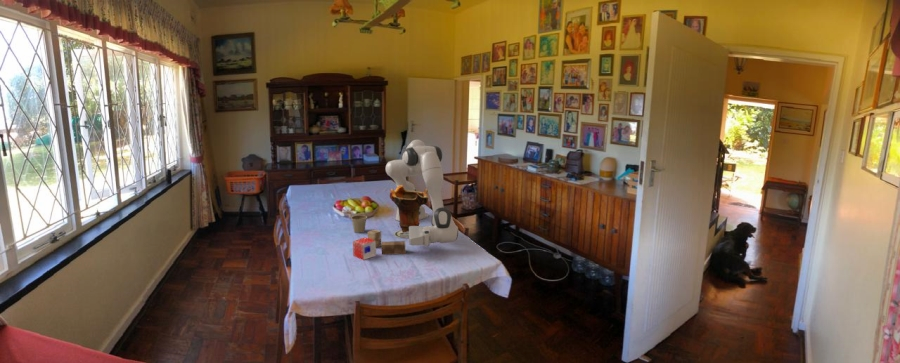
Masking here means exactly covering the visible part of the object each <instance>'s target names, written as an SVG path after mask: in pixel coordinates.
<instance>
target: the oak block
mask: <svg viewBox="0 0 900 363" xmlns="http://www.w3.org/2000/svg"><path fill="white" fill-rule="evenodd" d="M367 238H369V239H372V240H375V245H376V248H378V247H382V231H381V230H378V229H371V230H370V231H367Z"/></svg>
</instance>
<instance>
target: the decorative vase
mask: <svg viewBox="0 0 900 363" xmlns="http://www.w3.org/2000/svg"><path fill="white" fill-rule="evenodd" d="M428 193H429V192H428V190H427V188H425V189H424V191H423V192H422V191H418V190H415V191H407V190H405V189H404V187H403V185H400V186H398V187H397V186H396V188H395V190H394V188H391V189H390V192H389V199H391V201H392V202H393V203H394V204H395V205H396V207H398V209H399V218H400V221H399V223H398V224H399V226H400V227H399V228H400V230H396V231H395V232H393V236H394V237H396V238H399V239H401V238H400V233H404V232H409V226H420V220H419V210H420V206H421V205H422V206H423V205H427V204H428V200H429V196H428Z"/></svg>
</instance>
